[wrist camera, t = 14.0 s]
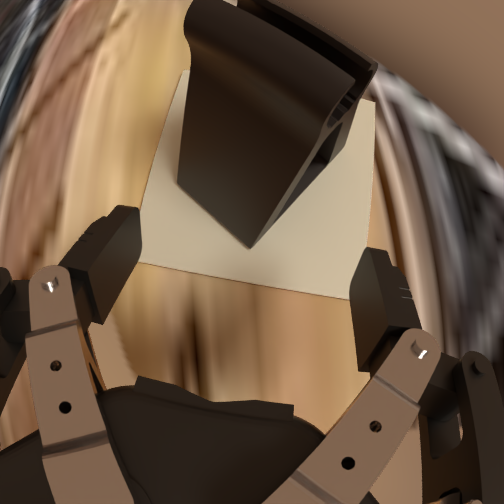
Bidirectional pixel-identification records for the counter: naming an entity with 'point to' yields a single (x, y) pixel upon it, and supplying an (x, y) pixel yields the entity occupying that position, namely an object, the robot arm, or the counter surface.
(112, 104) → the counter surface
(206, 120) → the phone stand
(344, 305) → the counter surface
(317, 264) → the board
